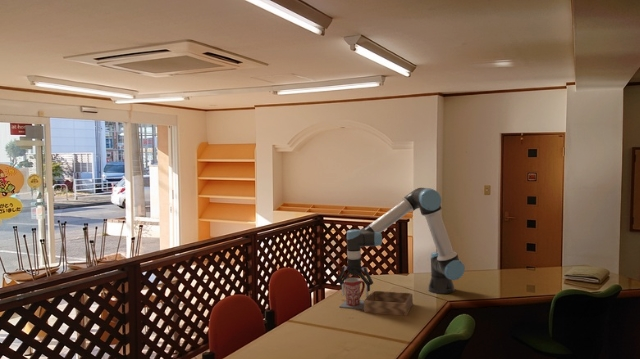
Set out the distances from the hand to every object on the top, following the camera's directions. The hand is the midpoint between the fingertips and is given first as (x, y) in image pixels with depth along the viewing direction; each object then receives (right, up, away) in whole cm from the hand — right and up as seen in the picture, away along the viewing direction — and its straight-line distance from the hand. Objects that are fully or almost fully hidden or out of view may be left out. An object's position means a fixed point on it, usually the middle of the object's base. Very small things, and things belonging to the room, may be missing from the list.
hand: (355, 296), depth 263 cm
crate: (+18, -5, -7) cm, 20 cm away
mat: (0, -5, 0) cm, 5 cm away
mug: (0, -4, 0) cm, 4 cm away
